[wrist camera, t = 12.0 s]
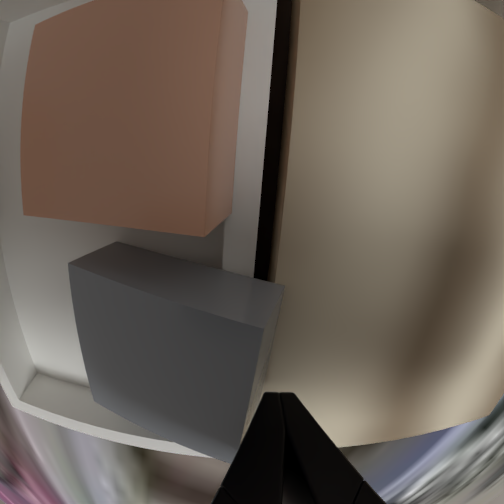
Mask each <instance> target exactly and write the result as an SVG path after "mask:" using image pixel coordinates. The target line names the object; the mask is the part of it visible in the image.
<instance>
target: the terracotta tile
mask: <svg viewBox="0 0 504 504" xmlns="http://www.w3.org/2000/svg"><path fill="white" fill-rule="evenodd" d="M247 19H248V11H247V9H246V7H245V5H244V3H243V1H242V0H94V1H91V2H88V3H85V4H82V5H80V6H77V7H75V8H72V9H69V10H67V11H65V12H62V13H60V14H58V15H55V16H53V17H51V18H49V19H46V20H44V21H42V22H40V23H38V24H36V25H35V28H34V32H33V36H32V41H31V46H30V52H29V57H28V63H27V70H26V77H25V84H24V93H23V104H22V117H21V142H20V165H21V190H22V204H23V215H26V216H35V217H43V218H52V219H60V220H69V221H77V222H86V223H94V224H102V225H111V226H119V227H127V228H135V229H143V230H151V231H159V232H167V233H175V234H183V235H191V236H199V237H205V236H206V235H208V234H209V233H210V232H211V231H212V230H213V229H214V228H216V227H217V226H218V225H219V224H220V223H221V222H222V221H223V220H225V219H226V218H227V217H228V216H229V215H230V214H231V213H232V202H233V187H234V172H235V158H236V145H237V131H238V119H239V106H240V94H241V83H242V71H243V60H244V50H245V39H246V29H247Z"/></svg>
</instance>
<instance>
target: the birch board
mask: <svg viewBox="0 0 504 504" xmlns="http://www.w3.org/2000/svg"><path fill="white" fill-rule="evenodd" d="M267 281H268V282H272V283H276V284H280V285H284V286H285V289H284V294H283V299H282V304H281V309H280V313H279V318H278V323H277V327H276V332H275V337H274V341H273V346H272V350H271V355H270V359H269V363H268V368H267V372H266V376H265V381H264V385H263V389H262V393H261V397H260V400H261V398H262V396H263V394H264V392H279V393H280V392H293V393H295V394H296V396H297V397H298V398H299V400H300V401H301V402H302V403H303V405H304V406H305V407H306V409H307V410H308V411H309V412H310V414H311V415H312V416H313V418H314V419H315V420H316V421H317V423H318V424H319V425H320V426H321V428H322V429H323V430H324V431H325V433H326V434H327V435H328V436H329V438H330V439H331V440H332V441H333V442H334V444H335V445H336V446H337V447H347V446H356V445H364V444H372V443H378V442H385V441H391V440H396V439H402V438H407V437H412V436H417V435H421V434H426V433H430V432H434V431H438V430H442V429H446V428H450V427H453V426H457V425H460V424H464V423H467V422H470V421H473V420H476V419H479V418H482V417H485V416H488V415H489V414H490V413H491V412H492V410H493V409H494V407H495V406H496V404H497V403H498V401H499V400H500V398H501V397H502V395H503V393H504V19H503V18H501V17H500V16H498V15H497V14H495V13H494V12H492V11H491V10H489V9H488V8H486V7H484V6H483V5H481V4H479V3H478V2H476V1H474V0H292V8H291V22H290V37H289V50H288V63H287V76H286V89H285V101H284V113H283V124H282V136H281V147H280V158H279V168H278V179H277V189H276V200H275V210H274V220H273V230H272V239H271V249H270V258H269V268H268V277H267ZM259 403H260V402H259Z"/></svg>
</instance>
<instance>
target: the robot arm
mask: <svg viewBox="0 0 504 504" xmlns="http://www.w3.org/2000/svg"><path fill="white" fill-rule="evenodd" d="M363 480H364V479H363V477H362V476H361V475H360V474H359V473H358V471H357V470H356V469H355V468H354V467H353V465H352V464H351V463H350V462H349V461H348V459H347V458H346V457H345V456H344V455H343V453H342V452H341V451H340V450H339V449H338V447H337V446H336V445H335V444H334V442H333V441H332V440H331V439H330V438H329V436H328V435H327V434H326V433H325V431H324V430H323V429H322V428H321V426H320V425H319V424H318V423H317V421H316V420H315V419H314V418H313V416H312V415H311V414H310V412H309V411H308V410H307V409H306V407H305V406H304V405H303V403H302V402H301V401H300V400H299V398H298V397H297V396H296V394H295V393H293V392H280V393H279V392H264V394H263V396H262V398H261V400H260V403H259V405H258V407H257V409H256V412H255V414H254V416H253V418H252V421H251V423H250V425H249V427H248V429H247V432H246V434H245V436H244V438H243V440H242V442H241V444H240V447H239V449H238V451H237V453H236V455H235V457H234V459H233V461H232V463H231V465H230V467H229V470H228V472H227V474H226V476H225V478H224V480H223V482H222V484H221V487H220V488H219V489H218V491H217V493H216V495H215V497H214V499H213V501H212V502H211V504H386V503H385V502H384V501H383V499H382V498H381V497H380V496H379V495H378V494H377V493H376V492H375V491H374V490H373V489H372V488H371V486H370V485H369V484H368V483H367V482H366V481H363Z"/></svg>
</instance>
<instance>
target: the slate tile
mask: <svg viewBox="0 0 504 504" xmlns="http://www.w3.org/2000/svg"><path fill="white" fill-rule="evenodd" d="M68 271H69V280H70V288H71V296H72V303H73V309H74V316H75V321H76V327H77V333H78V338H79V343H80V348H81V352H82V357H83V361H84V365H85V370H86V374H87V378H88V381H89V385H90V389H91V393H92V396H93V400H94V402H96V403H98V404H100V405H101V406H103V407H105V408H106V409H108V410H110V411H112V412H114V413H115V414H117V415H119V416H121V417H123V418H125V419H127V420H128V421H130V422H132V423H134V424H136V425H138V426H140V427H142V428H144V429H146V430H148V431H150V432H153V433H155V434H157V435H159V436H161V437H163V438H166V439H168V440H170V441H172V442H175V443H177V444H179V445H182V446H184V447H187V448H189V449H192V450H194V451H197V452H199V453H202V454H205V455H207V456H210V457H213V458H216V459H218V460H221V461H224V462H227V463H230V464H231V463H232V461H233V459H234V457H235V455H236V453H237V451H238V449H239V447H240V444H241V442H242V440H243V438H244V436H245V434H246V432H247V429H248V427H249V425H250V423H251V421H252V418H253V416H254V414H255V412H256V409H257V407H258V405H259V402H260V397H261V393H262V389H263V385H264V381H265V376H266V372H267V368H268V363H269V359H270V355H271V350H272V346H273V341H274V337H275V332H276V327H277V323H278V318H279V313H280V309H281V304H282V299H283V294H284V289H285V286H284V285H280V284H276V283H272V282H268V281H264V280H260V279H256V278H252V277H248V276H244V275H240V274H236V273H232V272H228V271H224V270H221V269H217V268H213V267H209V266H205V265H201V264H198V263H194V262H190V261H186V260H183V259H179V258H175V257H171V256H168V255H164V254H160V253H157V252H153V251H149V250H146V249H142V248H139V247H135V246H131V245H128V244H124V243H121V242H117V241H116V242H114V243H111V244H109V245H107V246H104V247H102V248H100V249H98V250H95V251H93V252H91V253H89V254H86V255H84V256H82V257H80V258H78V259H75V260H73V261H71V262H69V263H68Z"/></svg>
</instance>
